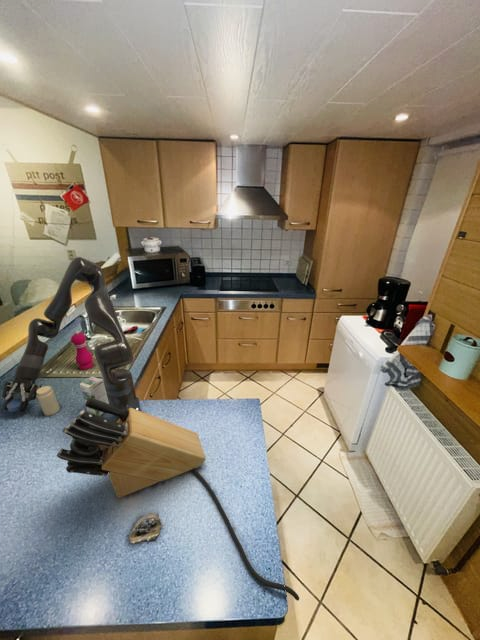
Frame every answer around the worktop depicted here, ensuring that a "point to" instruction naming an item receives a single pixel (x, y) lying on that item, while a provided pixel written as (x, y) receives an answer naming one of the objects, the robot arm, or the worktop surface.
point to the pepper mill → (82, 351)
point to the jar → (47, 400)
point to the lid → (14, 405)
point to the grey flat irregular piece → (146, 528)
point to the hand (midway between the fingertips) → (13, 410)
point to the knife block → (129, 448)
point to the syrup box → (94, 392)
